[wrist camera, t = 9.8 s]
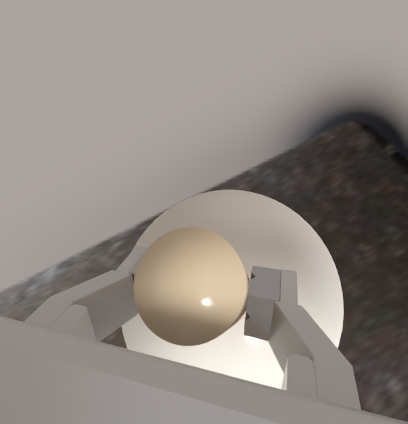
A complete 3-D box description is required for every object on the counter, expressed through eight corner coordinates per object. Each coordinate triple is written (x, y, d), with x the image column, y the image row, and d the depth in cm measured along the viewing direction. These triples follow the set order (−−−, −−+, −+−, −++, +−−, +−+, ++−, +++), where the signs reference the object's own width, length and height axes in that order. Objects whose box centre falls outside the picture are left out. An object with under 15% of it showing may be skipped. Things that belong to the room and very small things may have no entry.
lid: (104, 386, 14) (-61, 471, 7) (150, 188, 17) (69, 104, 10) (335, 449, 12) (457, 689, 4) (341, 203, 15) (418, 106, 7)
